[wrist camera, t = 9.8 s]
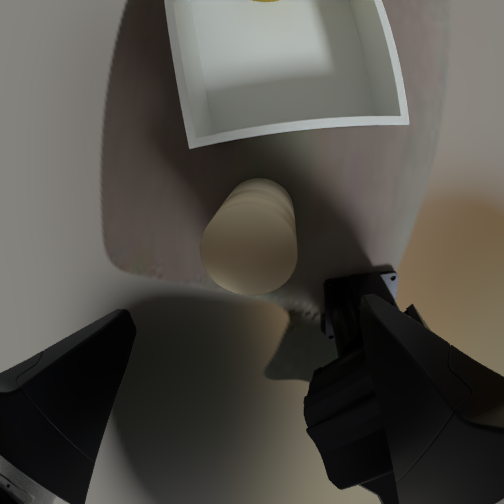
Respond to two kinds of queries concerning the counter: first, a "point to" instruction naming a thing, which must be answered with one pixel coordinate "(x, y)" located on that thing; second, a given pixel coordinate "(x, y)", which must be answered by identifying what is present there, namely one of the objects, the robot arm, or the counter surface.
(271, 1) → the lemon
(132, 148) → the counter surface
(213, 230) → the birch peg
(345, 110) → the tote
